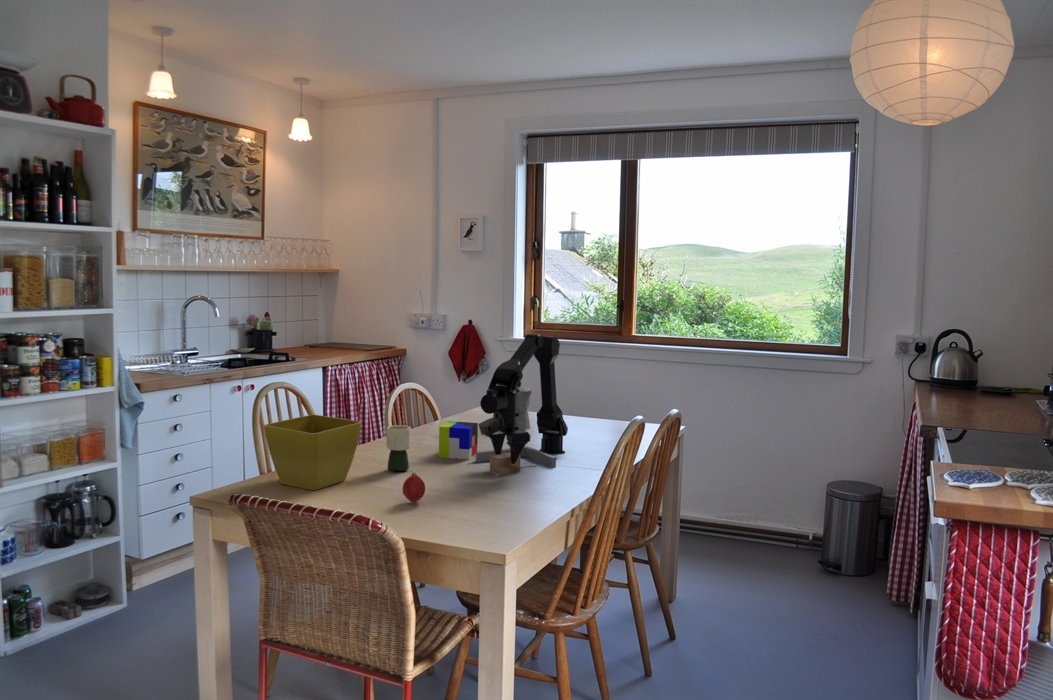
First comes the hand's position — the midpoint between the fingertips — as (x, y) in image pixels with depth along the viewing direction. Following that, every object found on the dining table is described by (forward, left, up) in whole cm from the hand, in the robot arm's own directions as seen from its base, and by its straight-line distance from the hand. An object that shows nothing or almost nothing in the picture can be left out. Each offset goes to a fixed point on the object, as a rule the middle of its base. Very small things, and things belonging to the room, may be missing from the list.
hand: (505, 460), depth 234 cm
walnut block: (0, 0, -4) cm, 4 cm away
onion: (+37, +17, -4) cm, 41 cm away
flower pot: (+54, -13, -4) cm, 56 cm away
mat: (-8, -6, -3) cm, 11 cm away
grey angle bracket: (-7, -7, -3) cm, 10 cm away
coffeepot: (-37, -55, -4) cm, 66 cm away
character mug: (+28, -15, -4) cm, 32 cm away
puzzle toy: (+3, -25, -4) cm, 25 cm away
